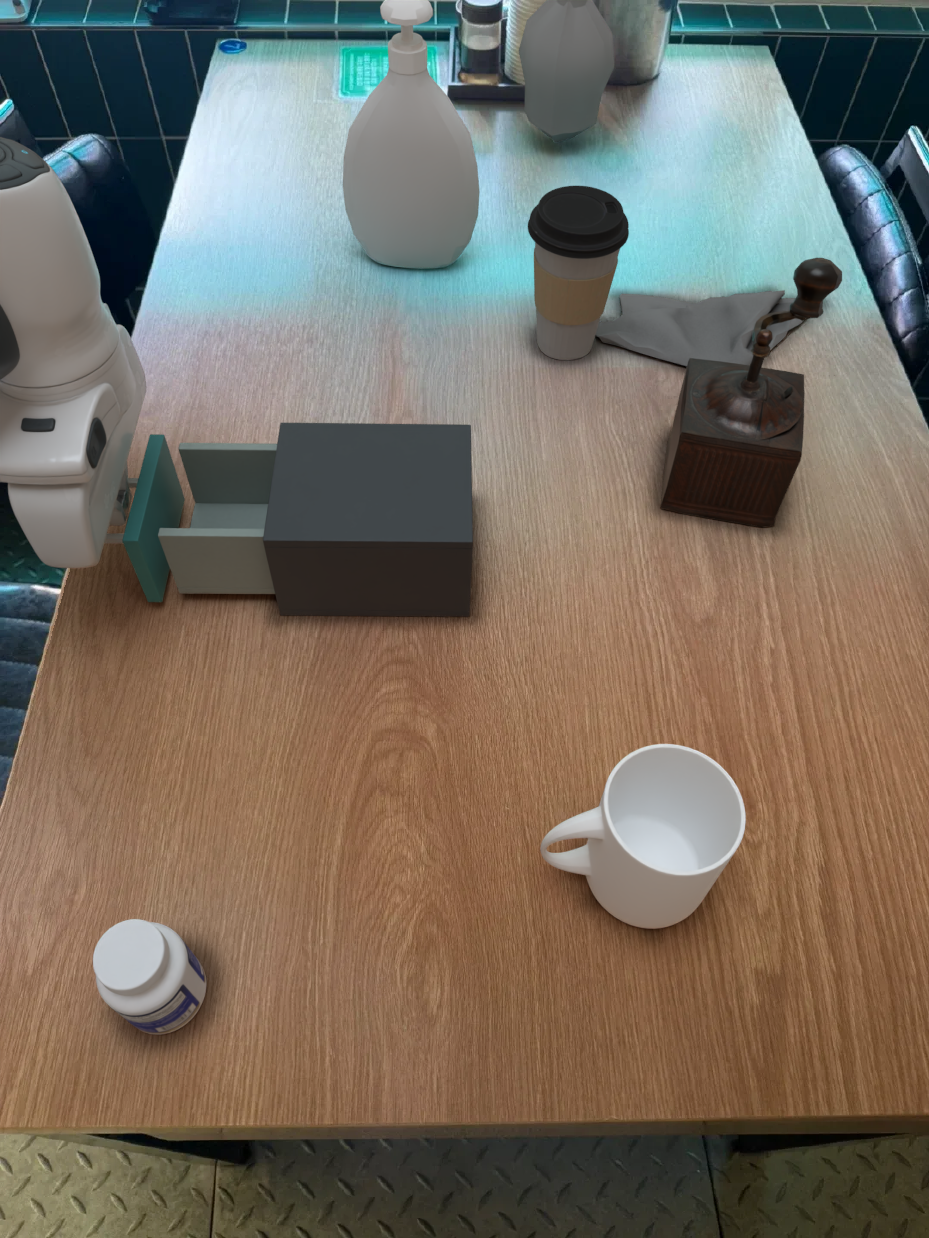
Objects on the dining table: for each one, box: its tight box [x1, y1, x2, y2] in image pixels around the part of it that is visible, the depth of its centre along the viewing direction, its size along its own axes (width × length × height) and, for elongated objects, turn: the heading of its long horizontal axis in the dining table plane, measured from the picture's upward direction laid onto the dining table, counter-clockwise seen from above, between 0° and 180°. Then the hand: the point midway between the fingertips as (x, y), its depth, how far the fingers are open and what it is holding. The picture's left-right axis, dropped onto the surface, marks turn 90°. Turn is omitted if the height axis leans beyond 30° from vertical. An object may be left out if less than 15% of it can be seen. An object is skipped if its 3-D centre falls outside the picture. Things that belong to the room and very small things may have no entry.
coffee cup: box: [527, 185, 630, 361], centre depth 93 cm, size 9×9×15 cm
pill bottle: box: [92, 918, 207, 1035], centre depth 57 cm, size 5×5×9 cm
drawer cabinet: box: [263, 422, 474, 618], centre depth 78 cm, size 16×13×10 cm
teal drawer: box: [104, 433, 277, 603], centre depth 77 cm, size 19×11×8 cm, turn 90°
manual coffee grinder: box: [660, 257, 843, 528], centre depth 82 cm, size 16×11×18 cm
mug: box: [539, 743, 747, 929], centre depth 61 cm, size 9×12×11 cm
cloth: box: [595, 289, 804, 367], centre depth 99 cm, size 26×14×2 cm, turn 93°
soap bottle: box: [342, 0, 480, 270], centre depth 96 cm, size 14×8×27 cm, turn 86°
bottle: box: [518, 0, 615, 144], centre depth 110 cm, size 11×11×30 cm
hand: (119, 512), depth 77 cm, fingers closed, pressing on teal drawer
